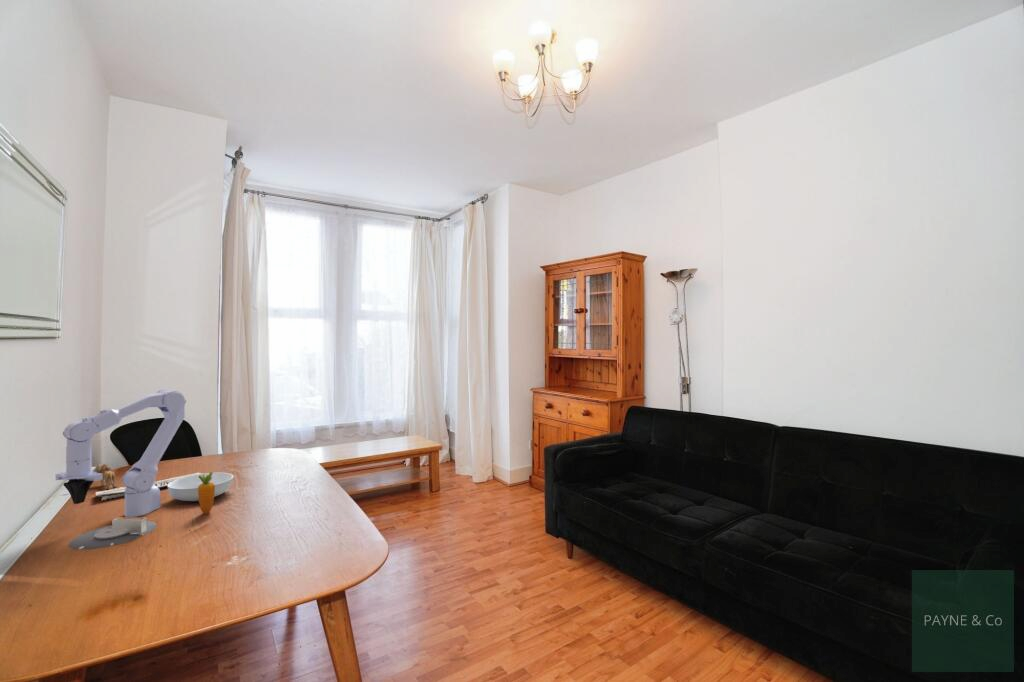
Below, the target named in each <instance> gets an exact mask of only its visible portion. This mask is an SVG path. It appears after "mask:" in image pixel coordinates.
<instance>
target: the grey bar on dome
mask: <svg viewBox="0 0 1024 682" xmlns="http://www.w3.org/2000/svg"><path fill="white" fill-rule="evenodd" d="M146 521H147V516H146V517H145V516H144V517H142V516H140V517H139V516H136V517H125V516H123V517H116V518H114V519H112V520H111V525H112V526H109V525H107V526H108V527H105V526H104V527H105V528H102V527H101V528H102V529H100V530H98V531H96V532H95V540H98V541H105V540H112V539H116V538H120V537H123V536H126V535H128V534H130V533H142V532H144V531H146Z"/></svg>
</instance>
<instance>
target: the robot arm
mask: <svg viewBox="0 0 1024 682" xmlns="http://www.w3.org/2000/svg"><path fill="white" fill-rule="evenodd" d="M186 403H187V400H186V398H185V396H184V395H183V393H182V392H180V391H177V390H166V389H160V390H158V391H156V392H152V393H149V394H147V395H145V396H143V397H141V398H139V399H137V400H134V401H133V402H130V403H128V404H126V405H123V406H122V407H119V408H117V409H113V408H107V409H106V408H104V409H100V410H99V412H98V413H96V414H94V415H91V416H89V417H86V416H85V417H83V418H81V421H73V422H71V423H69V424H68V425H67V426H66V427H65V428H64V429H63V431H62V435H63V437H64V438H65V439H66V447H65V448H66V449H65V454H66V455H65V458H66V459H65V464H66V466H65V467H66V468H65V472H63V471H62V472H59V473H55V481H61V480H65V481H67V482H63V487H64V488H65V489H66V490H67V491H68V494H69V495H70V497H71V500H72V503H73V505H78V504H82V503H84V502H85V501H86V497H87V494H88V492H89V490H90V487H91V486H92V484H94V482H99V481H101V480H102V479H103V474H101V473H96V472H93V469H92V463H93V461H92V458H93V457H92V453H93V452H92V451H93V450H92V445H93V444H92V438H93V437H94V436H95V434H99V433H101V432H103V431H105V430H108V429H110V428H112V427H115V426H116V425H119V424H120V423H121V421H122V419H123V418H125V417H126V418H127V417H129V416H130V415H133V414H136V413H138V412H140V411H143V410H145V409H148V408H158V409H159V410H160V411H161V413H162V415H163V416H164V417H163V418H164V419H163V420H162V422H161V424H160V425H159V427H158V429H157V431H156V433H154V435H153V437H152V439H151V441H150V442H149V444H148V446H147V447H146V449H145V451H144V452H143V454H142V456H141V457H140V459H139V460H138V461H136V462H135V463H134V464H133V465H132V466H131V467H130V469H129V470H127V471H126V472H125V473H124V474H123V475H122V477H121V484H122V485H123V487H126V489H125V496H124V517H139V516H140V517H142V516H144V515H147V514H150V513H152V512H153V511H156V510H158V509H160V508H161V489H159V488H158V487H156V486H153V484H154V482H155V481H156V475H157V474H158V471H159V470H158V464H159V462H160V461H161V459H162V458H163V455H164V454H165V452H166V450H167V448H168V447H169V445H170V443H171V442H172V440H173V438H174V436H175V435H176V433H177V431H178V429H179V427H180V426H181V424H182V423H183V421H184V419H185V406H186V405H185V404H186Z"/></svg>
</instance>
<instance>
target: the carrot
mask: <svg viewBox="0 0 1024 682" xmlns="http://www.w3.org/2000/svg"><path fill="white" fill-rule="evenodd" d="M208 473H209V475H207V476H206V477H205V475H203V477H202V476H201V475H199V476H198V477H199V478H200V479H201V481H202V482H203V484H200V485H199V486H198V496H199V501H198V503H199V507H200V510H201V512H202V514H203V515H208V514H210V513H211V510H212V509H213V505H214V501H215V497H214V492H215V486H214V483H212V482H209V481H210V480H211V479H212V477H211V476H212V473H213V471H210V472H208Z"/></svg>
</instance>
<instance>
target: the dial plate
mask: <svg viewBox="0 0 1024 682" xmlns="http://www.w3.org/2000/svg"><path fill="white" fill-rule="evenodd" d="M108 526H112V524H110V525H106V526H102V527H98V528H95V529H92V530H90V531H87V532H85V533H82V534H80V535H78V536H76V537H74V538H73V539H72V540H71V541H69V543H68V548H69V549H74V550H81V551H82V550H96V549H102V548H108V547H113V546H116V545H117V546H118V545H122V544H125V543H127V542H132V541H133V540H137V539H139V538H142V537H145V536H146V535H149V534H150V533H152V532H153V531H154V530H155V529H156V528H157V523H156V522H154V521H149V520H146V531H144V532H142V533H130V534H128V535H126V536H123V537H120V538H116V539H112V540H105V541H98V540H95V532H96V531H98V530H100V529H102V528H105V527H108Z"/></svg>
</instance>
